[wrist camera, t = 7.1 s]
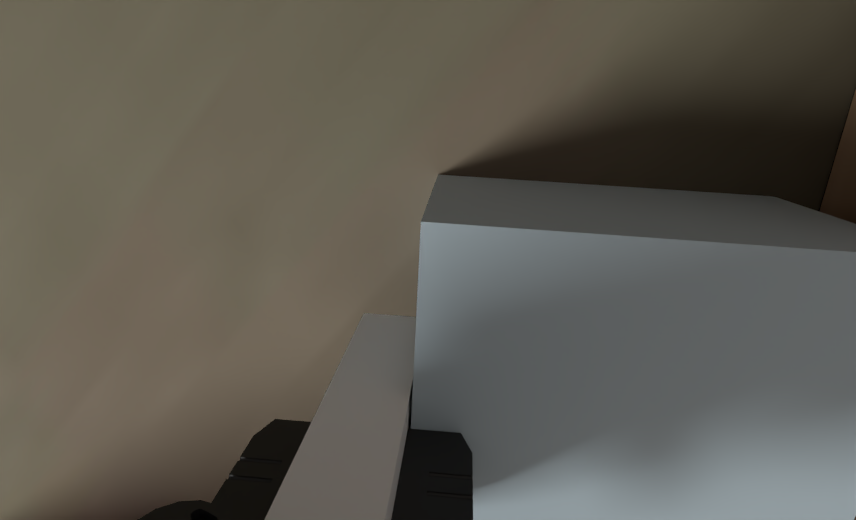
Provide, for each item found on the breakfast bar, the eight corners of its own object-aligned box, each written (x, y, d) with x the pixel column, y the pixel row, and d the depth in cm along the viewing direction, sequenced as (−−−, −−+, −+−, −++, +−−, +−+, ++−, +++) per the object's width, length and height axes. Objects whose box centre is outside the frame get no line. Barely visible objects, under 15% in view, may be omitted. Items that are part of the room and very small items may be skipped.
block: (438, 173, 13) (420, 221, 8) (769, 194, 12) (961, 259, 7) (421, 466, 15) (400, 631, 11) (687, 492, 15) (789, 676, 10)
